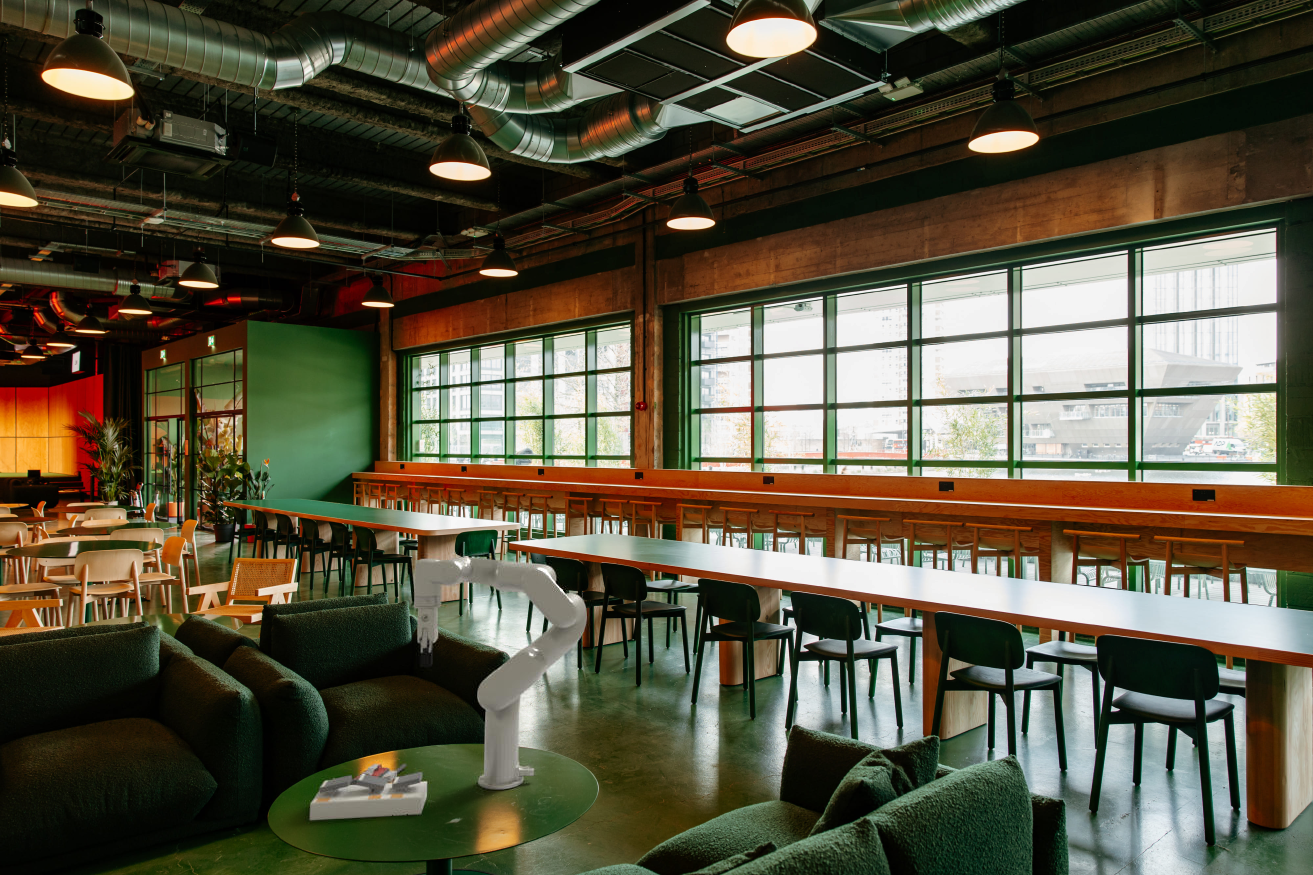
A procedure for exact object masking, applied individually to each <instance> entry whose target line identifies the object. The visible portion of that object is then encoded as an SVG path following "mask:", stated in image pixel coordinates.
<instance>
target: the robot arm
mask: <svg viewBox="0 0 1313 875" xmlns="http://www.w3.org/2000/svg"><path fill="white" fill-rule="evenodd" d="M414 566H415V567H414V592H413V593H414V594H413V595H414V602H413V608H415V609H417V628H416V630H417V633H416V634H417V643H418V644H420V656H419V657H420V658H419V666H420V667H421V668H426V667H432V665H433V644H434V643H436V641H437V640H438V639H439V610H438V608H441V606H442V586H448V587H450V586H457V585H458V584H462V583H470V584H472V583H473V584H481V585H487V586H491V587H493V588H494V589H495V590H497V591H501V592H516V593H524V594H525V595H526V597H527V598H528V599H529V601H530V602H532V604H533V605H534V606H535V607H536V608H537V610H538V611H539V612H540V613H541V615H543V616H544V617H545V619H547V621H548V622H549V623H550V624H551V626H550V627H549V628H548V629H547V630H546V631H545V632H543V633H542V634H541V635H540V636H539V637H538V638H536V639H535V640H533V641H532V642H531V643H530V644H529V645H527V646H525V647H523V648H521V649H520V650H519V651H518V652H516V653H515V654H514V655H513V656H512V657H511V658H509V659H508V660H507V661H505V662H504V663H503V664H502V665H501V666H500V667H498V668H497V669H495V670H494V671H492V672H491V673H490V674H489V675H488V676H487V677H486V678H484V680H482V682H481V683H480V684H479V686H478V688H477V701H478V703H479V705H480V706H481V707H482V708H483V709H484V710H485V718H484V719H485V721H484V759H483V760H484V761H483V762H484V763H483V770H484V771H483V774H482V775H480V776H479V777H478V781H477V782H478V785H479V786H480V787H481V788H484V789H487V790H506V789H508V790H509V789H512V788H515V787H518V786H519V785H520V786H521V785H522V783H523V782H524V776H534V775H535V768H534V767H531V766H522V765H520V761H519V746H520V744H519V737H520V736H519V734H520V731H519V730H520V729H519V728H520V706H521V695H523V694H524V693H525V692H526V691H527V690H529V689H530V688H531V687H533V685H535V684H536V683H537V682H538V681H540V679H541V678H542V677H543V675H544V674H545V673H546V671H547V670H549V668H550V667H552V666H553V665H554V664H555V663H557V661H559V660H560V659H561V658H562V657H563V656H565V655H566V654H567V653H568V652H569V651H570V650H571V649H572V648H573V647H575V645H576V644H577V643H578V642H579V640H580V639H581V637H582V635H583V634H584V632H585V629H586V625H587V620H588V616H587V615H588V614H587V607H586V604H585V602H584V599H583V598H582V597H581V596H580V595H578V594H576V593H571V592H569V593H565V592H564V591H563V590H562V588H561V587H560V586H559V585H558V584H557V583H556V582H557V575H556V574H557V573H556V571H555V570H554V568H553V567H552V566H550V565H547V564H544V563H543V564H542V563H531V562H520V561H511V560H510V561H507V560H501V559H499V560H498V559H497V560H495V559H490V558H479V557H478V558H477V557H467V556H459V557H454V558H451V559H450V558H449V559H445V560H440V559H438V558H421V559H418V560H416V562H415V564H414Z"/></svg>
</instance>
